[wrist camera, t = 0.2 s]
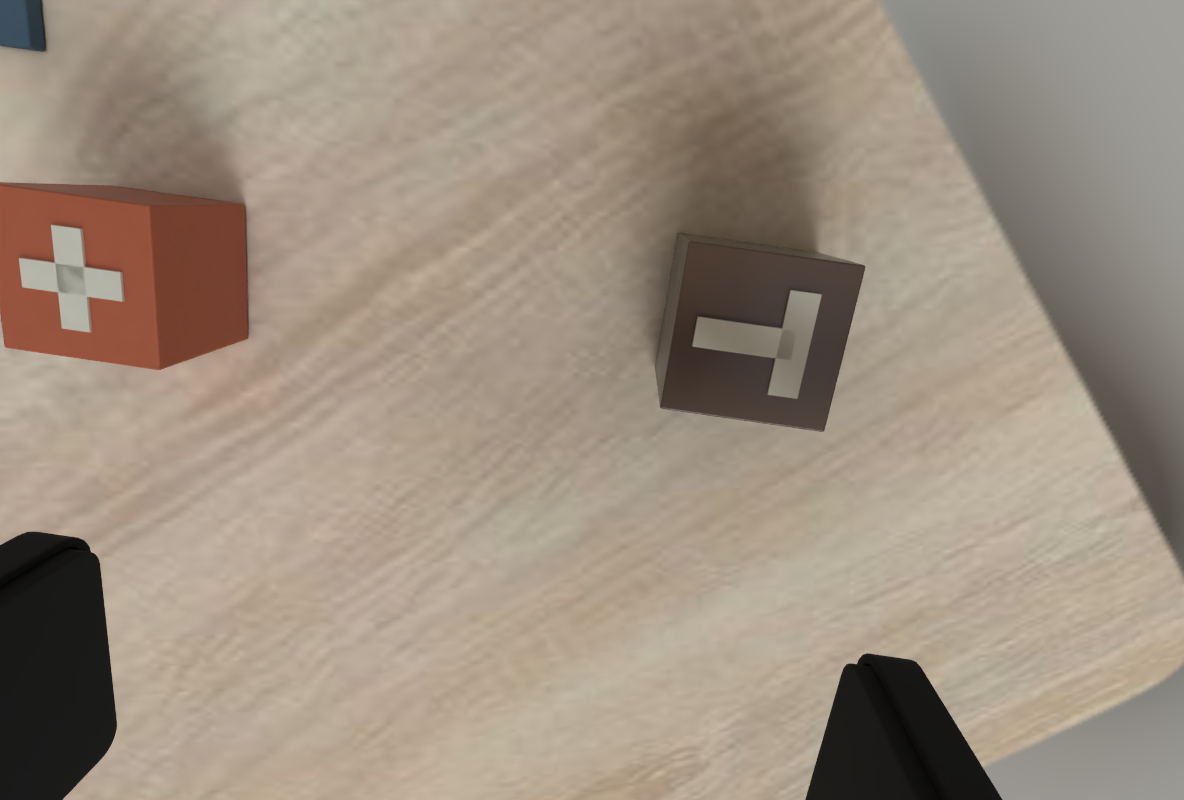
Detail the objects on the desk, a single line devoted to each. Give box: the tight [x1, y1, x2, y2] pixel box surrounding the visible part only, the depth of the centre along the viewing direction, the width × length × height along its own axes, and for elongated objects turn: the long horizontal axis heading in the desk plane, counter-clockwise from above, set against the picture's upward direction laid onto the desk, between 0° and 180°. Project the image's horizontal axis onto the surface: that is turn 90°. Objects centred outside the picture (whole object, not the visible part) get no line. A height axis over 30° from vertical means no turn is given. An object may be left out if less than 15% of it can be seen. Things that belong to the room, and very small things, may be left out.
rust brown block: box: [0, 182, 248, 370], centre depth 20 cm, size 4×4×5 cm
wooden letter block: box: [655, 233, 865, 432], centre depth 19 cm, size 4×4×5 cm
